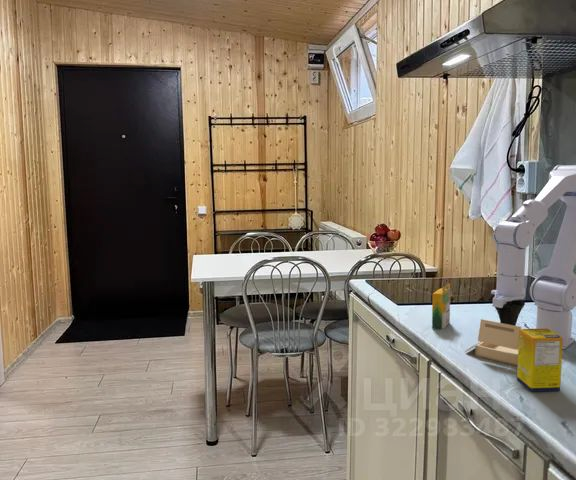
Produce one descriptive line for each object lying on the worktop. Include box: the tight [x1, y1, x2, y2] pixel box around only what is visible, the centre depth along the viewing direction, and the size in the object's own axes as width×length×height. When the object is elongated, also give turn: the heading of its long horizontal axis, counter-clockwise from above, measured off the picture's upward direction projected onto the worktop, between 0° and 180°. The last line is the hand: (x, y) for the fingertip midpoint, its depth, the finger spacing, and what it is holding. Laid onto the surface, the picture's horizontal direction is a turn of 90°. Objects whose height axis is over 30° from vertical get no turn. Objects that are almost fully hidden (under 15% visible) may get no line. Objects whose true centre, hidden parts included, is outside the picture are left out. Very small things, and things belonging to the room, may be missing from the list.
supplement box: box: [516, 328, 563, 393], centre depth 100 cm, size 6×6×11 cm
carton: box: [464, 341, 518, 367], centre depth 119 cm, size 15×15×2 cm
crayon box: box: [431, 282, 451, 330], centre depth 140 cm, size 7×3×12 cm, turn 147°
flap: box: [477, 319, 522, 350], centre depth 113 cm, size 5×9×1 cm
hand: (507, 331), depth 117 cm, fingers closed
